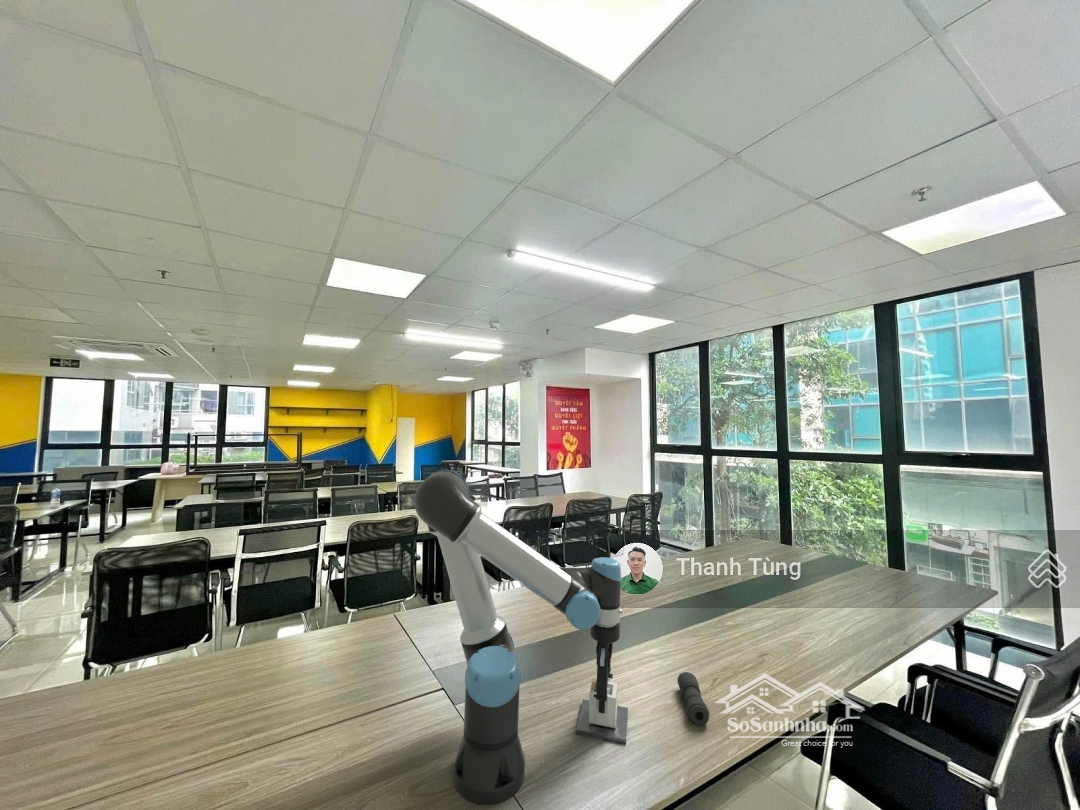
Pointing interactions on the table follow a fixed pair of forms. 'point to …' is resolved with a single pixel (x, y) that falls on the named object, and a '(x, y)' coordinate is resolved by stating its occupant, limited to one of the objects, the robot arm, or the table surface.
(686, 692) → the flashlight
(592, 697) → the white hollow block
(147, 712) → the table surface
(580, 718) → the shaft block
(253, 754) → the table surface
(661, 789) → the table surface
